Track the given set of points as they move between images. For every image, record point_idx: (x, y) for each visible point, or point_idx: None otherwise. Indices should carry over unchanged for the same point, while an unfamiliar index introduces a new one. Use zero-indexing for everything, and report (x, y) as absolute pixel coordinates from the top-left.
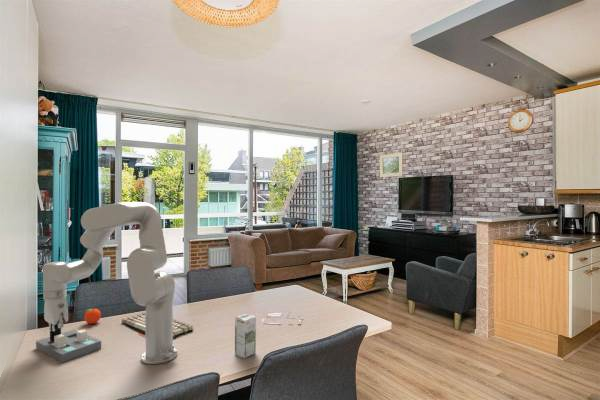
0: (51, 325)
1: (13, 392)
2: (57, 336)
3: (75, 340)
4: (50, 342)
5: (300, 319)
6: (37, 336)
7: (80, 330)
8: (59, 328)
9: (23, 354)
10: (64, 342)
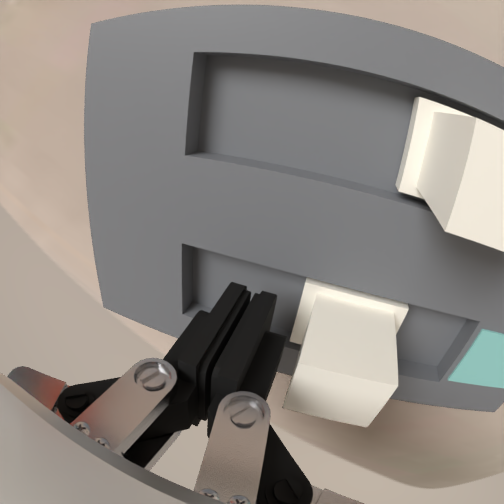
0: (153, 462)
1: (446, 484)
2: (328, 411)
3: (404, 192)
4: (188, 283)
5: None
6: (5, 169)
7: (477, 176)
8: (285, 456)
9: (166, 345)
10: (393, 330)
